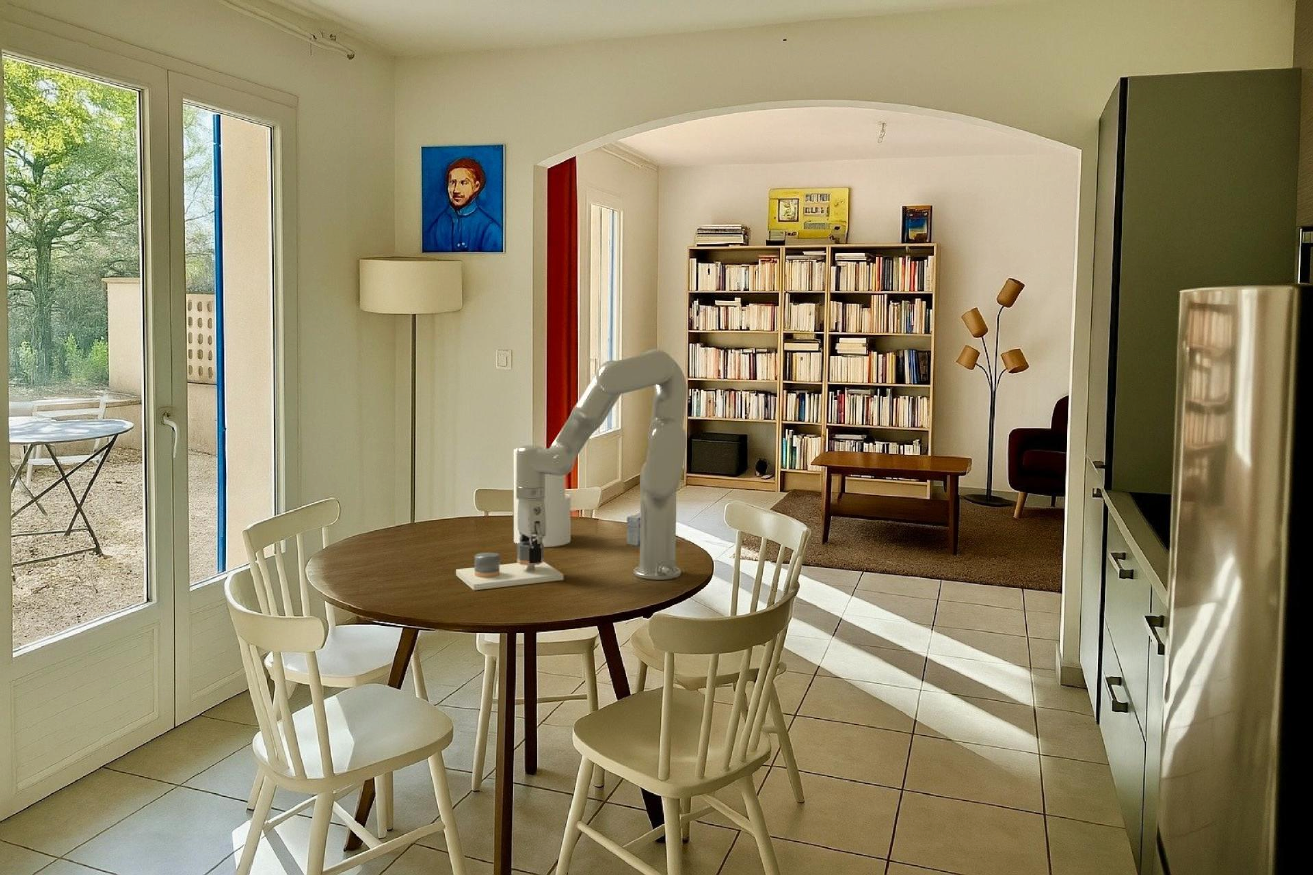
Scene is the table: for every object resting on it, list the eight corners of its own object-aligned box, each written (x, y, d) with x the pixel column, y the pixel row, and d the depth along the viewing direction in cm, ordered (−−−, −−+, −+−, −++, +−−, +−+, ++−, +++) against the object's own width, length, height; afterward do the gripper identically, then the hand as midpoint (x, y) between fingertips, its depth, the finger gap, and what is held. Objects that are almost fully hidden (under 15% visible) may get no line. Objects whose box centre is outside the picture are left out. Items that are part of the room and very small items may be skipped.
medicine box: (637, 546, 295) (638, 518, 294) (626, 544, 298) (626, 516, 297) (653, 542, 301) (654, 514, 300) (642, 539, 304) (642, 512, 303)
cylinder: (547, 549, 289) (547, 455, 286) (502, 542, 298) (501, 450, 295) (581, 539, 304) (582, 449, 301) (537, 532, 313) (537, 444, 310)
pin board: (563, 579, 256) (563, 555, 256) (473, 590, 246) (473, 564, 245) (541, 565, 270) (541, 542, 270) (456, 574, 260) (455, 550, 259)
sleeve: (545, 563, 259) (546, 545, 258) (522, 566, 256) (522, 547, 255) (537, 558, 265) (537, 540, 264) (514, 560, 262) (514, 542, 261)
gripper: (556, 497, 252) (555, 565, 254) (532, 486, 267) (532, 551, 270) (528, 499, 249) (528, 568, 251) (506, 488, 264) (506, 553, 266)
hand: (530, 558), depth 260 cm, fingers closed on sleeve, 6 cm apart
